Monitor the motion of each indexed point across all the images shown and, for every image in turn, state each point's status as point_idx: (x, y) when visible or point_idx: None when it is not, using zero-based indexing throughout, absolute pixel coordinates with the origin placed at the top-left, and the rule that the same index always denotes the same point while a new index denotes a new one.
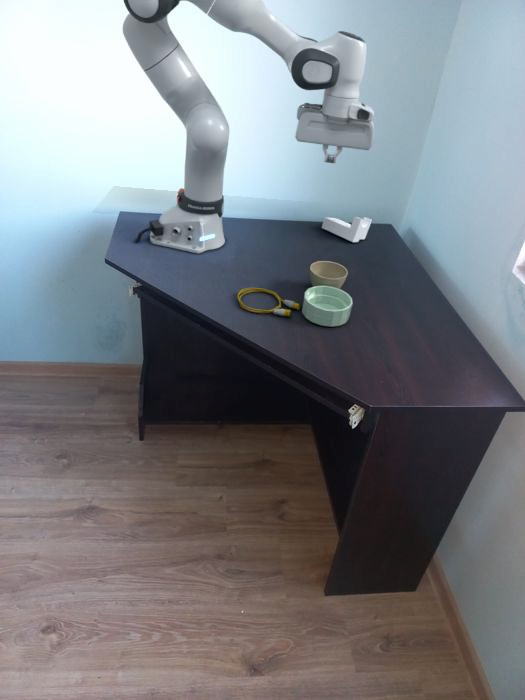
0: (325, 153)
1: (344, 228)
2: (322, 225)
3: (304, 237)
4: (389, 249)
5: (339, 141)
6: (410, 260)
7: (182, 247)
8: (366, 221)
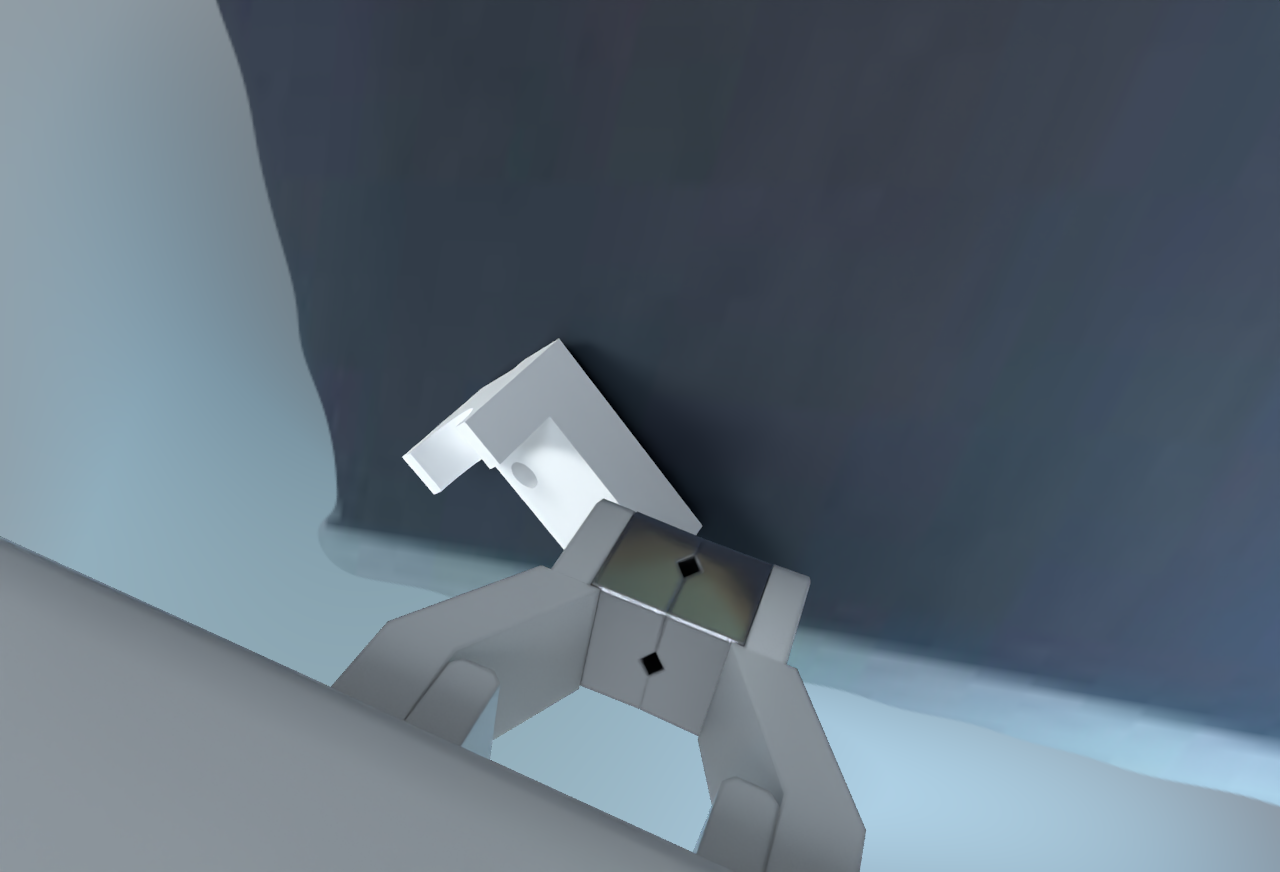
0: (788, 704)
1: (581, 438)
2: (694, 533)
3: (842, 446)
4: (367, 263)
5: (318, 847)
6: (271, 122)
7: None
8: (436, 457)
